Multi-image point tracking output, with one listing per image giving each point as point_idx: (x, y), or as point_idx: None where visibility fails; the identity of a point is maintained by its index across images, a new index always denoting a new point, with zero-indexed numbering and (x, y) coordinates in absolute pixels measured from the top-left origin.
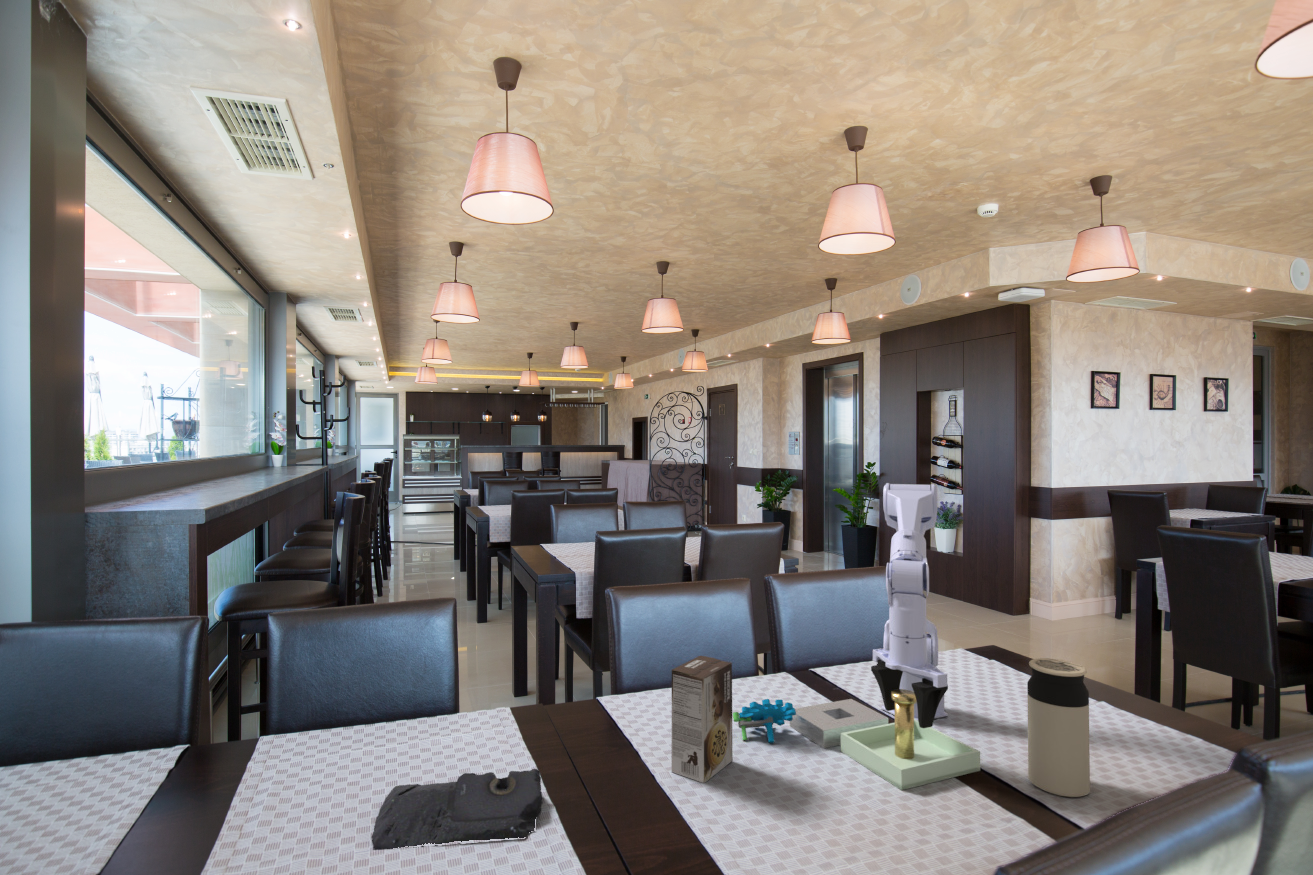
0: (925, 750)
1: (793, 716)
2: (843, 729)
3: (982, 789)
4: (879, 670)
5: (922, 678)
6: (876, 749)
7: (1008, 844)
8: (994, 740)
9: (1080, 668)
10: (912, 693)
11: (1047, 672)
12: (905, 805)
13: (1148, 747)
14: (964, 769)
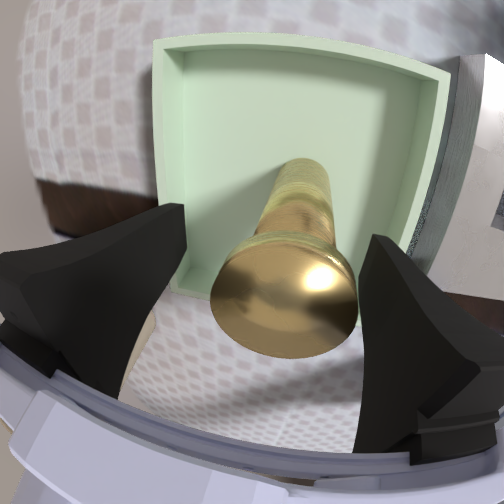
0: None
1: None
2: (472, 127)
3: (130, 206)
4: (466, 377)
5: (70, 382)
6: (370, 146)
7: (27, 112)
8: (264, 366)
9: None
10: (260, 340)
11: (4, 422)
12: (132, 17)
13: (183, 413)
14: None
